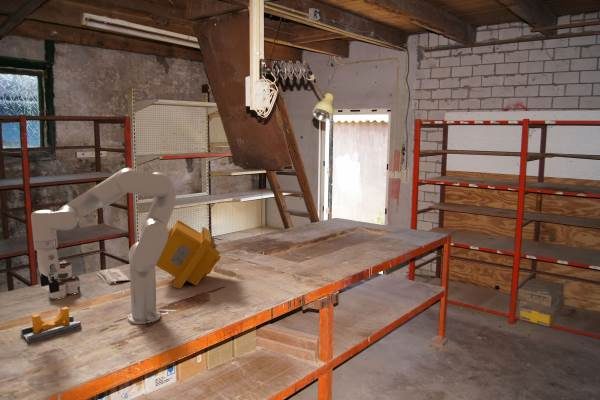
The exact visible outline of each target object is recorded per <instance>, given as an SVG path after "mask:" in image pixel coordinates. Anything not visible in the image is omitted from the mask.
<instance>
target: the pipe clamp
mask: <svg viewBox="0 0 600 400" xmlns="http://www.w3.org/2000/svg"><path fill="white" fill-rule="evenodd" d="M69 316H70V309H69V307H67V306H63V307H60V312H59V313H58V315H57V316H56V317H55V318H54V319H51V320H45V321H44V320H42V318H41V315H40V314H38V313H35V314H32V315H31V320H32V321H31V322H32V326H33V332H34V333H38V332H42V331H45V330H49V329H53V328H56V327H60V326H64V325H67V324H70V321H69Z"/></svg>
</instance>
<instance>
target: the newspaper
mask: <svg viewBox="0 0 600 400" xmlns="http://www.w3.org/2000/svg"><path fill="white" fill-rule="evenodd" d="M96 275H97V276H99V277H100V278H101V279H102V280H103V281H104V282H105V281H106V280H107V282H108V283H107V284H109V285H114V284H113V283H114V282H113V281H116V282H121V281H130V276H128V275H127V274H126V273H125V272H124V271H122V269H121V268H110V269H101V270H99V272H96Z"/></svg>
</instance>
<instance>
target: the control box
mask: <svg viewBox="0 0 600 400" xmlns="http://www.w3.org/2000/svg"><path fill="white" fill-rule="evenodd" d="M175 222H176V223H174V226H173V227H171V226H170V227H167V228H168V231H169V236H168V240H167V242H166V245H165V247H164V249H163V251H162V254H161V256H160V258H159V260H158V262H157V264H156V266H155V267H158V268H159V269H161V270H163V271H164V272H166V273H168V274H169V275H171V276H172V277H174V278H173V279H172V280H173V282H172V286H173V287H175V288H176V289H178V290H181V288H182V287H183V286H184V284H185V283H186V281H187V282H188V283H191V284H192V285H194V286H197V285H198V284H199V282H200V281H201V280H202V278H206V276H207V275H210V274H211V272H212V270H213V268H214V267H215V266H216V264H217V263H218V262H219V261H220V260H221V256H220V253H221V252H219V251H218V249H217V248H218V247H219V245H218V244H216V243H215V241H216V239H215V238H214V236H212V235H211V230H209V229H207V228H206V227H203V226H202V227H201V229H202V230H201V232H199V231H197V230H196V229H194V228H193V227H191V226H190V225H188V224H186V223H184V222H183V221H181V220H176V221H175Z"/></svg>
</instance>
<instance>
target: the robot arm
mask: <svg viewBox="0 0 600 400" xmlns="http://www.w3.org/2000/svg"><path fill="white" fill-rule="evenodd" d="M126 194H135V195H142V196H149V197H150V196H151V197H153V200H152V203H151V206H150V207H149V208H150V209H149V210H148V213H147V214H146V217H145V219H144V221H143V223H142V225H141V228H140V232H141V236H140V239H139V240H138V241H137V242H135V243H134V244H132V246H131V247H130V248H129V251H128V262H129V278H130V280H129V282H130V300H131V301H130V302H131V306H130V307H131V313H130V314H129V315H127V321H128V322H129V323H130V324H132V325H133V324H134V325H147V324H146V323H148V324H151V322H152V323H155V322H156V321H159V319H161V312H160V311H158V309H157V283H156V281H157V280H156V278H157V277H156V267H157V266H156V264H157V262H158V260H159V258H160V256H161V254H162V251H163V249H164V247H165V245H166V242H167V240H168V236H169V231H168V228H169V227H168V225H169V221H170V220H171V217H172V214H173V212H174V209H175V206H176V201H177V200H176V199H177V197H176V196H177V195H176V190H175V187H174V184H173V180H172V179H171V178H170V176H168V175H167V174H166V173H164V172H161V171H155V172H151V173H150V172H145V171H139V170H136V169H134V168H131V167H125V168H122V169H120V170H119V171H117V172H115V173H114V174H112V175H110V176H109V177H108V178H106V179H105V180H103V181H101V182H100V183H98V184H96V185H95V186H93V187H92V188H90V189H88V190H87V191H85V192H84V193H82V194H80V195H78V196H77V197H75V198H73V199H72V200H70V201H69V202H67V203H66V204H64V205H63V206H62V207H60V208H59V209H58V210H57V211H53V210H51V209H40V210H34V211H33V212H32V213H31V215H30V220H31V222H30V223H31V230H32V240H33V249H34V251H36V257H37V266H38V271H39V277H40V278H39V279H40V286H41V287H46V286H48V293H49V292H50V293H54V292H58V291H59V279H58V274H60V265H59V261H60V260H59V255H58V250H57V248H58V237H57V231H70V230H72V229H75V227H76V226H77V225H78V221H79V220H80V219H82V218H83V217H85V216H87V215H88V214H89V213H91V212H94V211H95V210H97V209H101V208H105V207H108V206H110V205H111V204H113V203H114V202H115V201H117V200H118V199H120V198H122V197H123V196H125V195H126ZM51 276H52V279H51Z"/></svg>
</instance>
